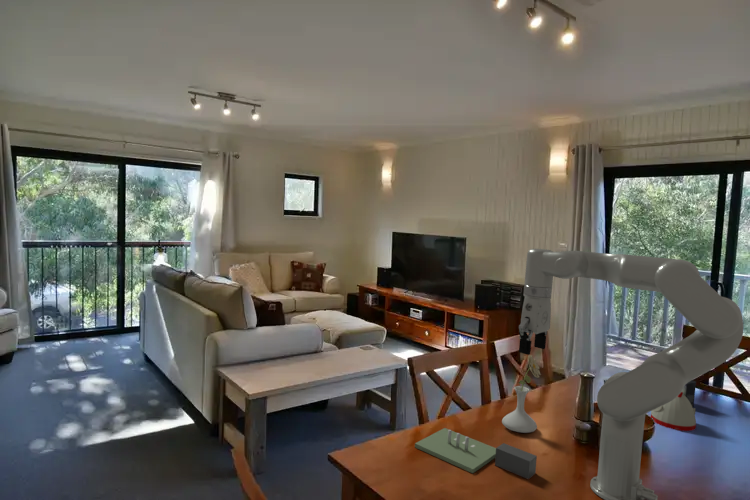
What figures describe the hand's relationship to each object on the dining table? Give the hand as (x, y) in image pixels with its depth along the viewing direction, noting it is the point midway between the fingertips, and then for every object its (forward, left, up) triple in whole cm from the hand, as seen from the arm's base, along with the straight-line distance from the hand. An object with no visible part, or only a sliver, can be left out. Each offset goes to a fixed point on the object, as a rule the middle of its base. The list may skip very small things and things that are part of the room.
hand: (532, 350), depth 136 cm
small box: (-23, -92, -33) cm, 100 cm away
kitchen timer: (-26, -68, -33) cm, 80 cm away
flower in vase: (+10, -20, -33) cm, 40 cm away
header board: (+16, +10, -33) cm, 38 cm away
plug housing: (-1, +7, -33) cm, 33 cm away
